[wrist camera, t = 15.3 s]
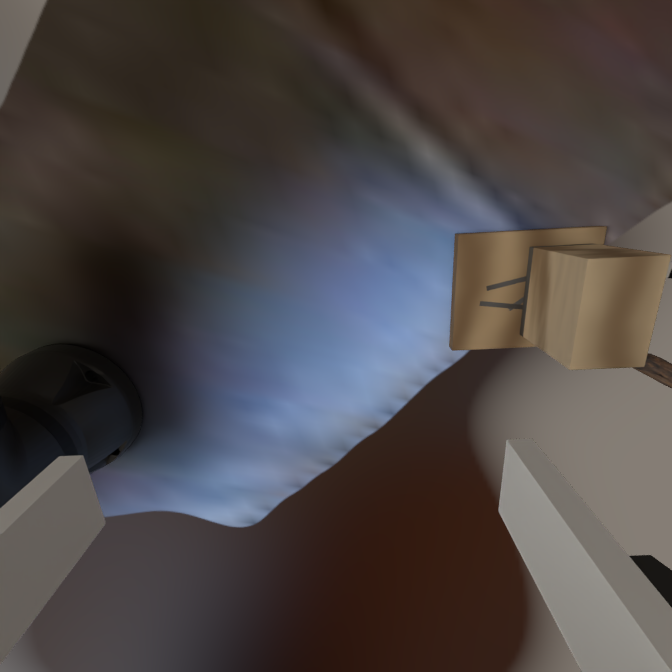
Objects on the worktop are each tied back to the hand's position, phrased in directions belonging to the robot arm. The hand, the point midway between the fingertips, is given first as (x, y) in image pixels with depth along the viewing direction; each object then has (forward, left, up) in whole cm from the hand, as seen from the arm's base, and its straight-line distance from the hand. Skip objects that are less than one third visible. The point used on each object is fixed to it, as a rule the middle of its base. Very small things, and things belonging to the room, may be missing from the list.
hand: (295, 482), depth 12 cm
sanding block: (+23, -1, -28) cm, 36 cm away
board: (+20, -1, -29) cm, 35 cm away
